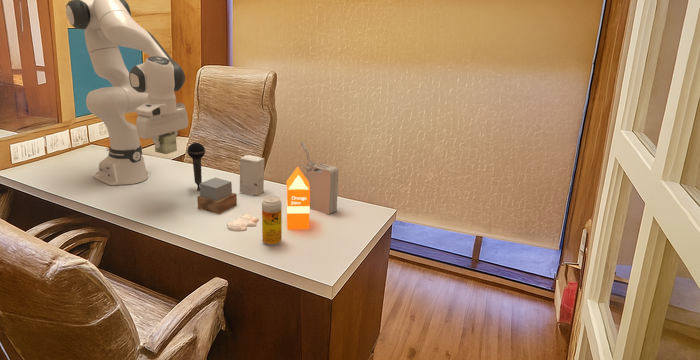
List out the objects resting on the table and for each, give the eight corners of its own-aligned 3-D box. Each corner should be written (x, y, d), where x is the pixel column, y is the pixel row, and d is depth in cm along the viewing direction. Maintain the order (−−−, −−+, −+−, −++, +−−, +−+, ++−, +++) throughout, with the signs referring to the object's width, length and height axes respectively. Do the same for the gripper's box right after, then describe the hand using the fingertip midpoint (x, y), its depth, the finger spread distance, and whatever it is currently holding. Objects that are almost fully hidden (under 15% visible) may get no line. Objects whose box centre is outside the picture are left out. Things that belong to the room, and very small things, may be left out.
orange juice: (308, 218, 172) (309, 166, 166) (309, 229, 164) (310, 174, 157) (286, 218, 171) (286, 166, 164) (286, 229, 163) (286, 174, 156)
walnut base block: (197, 209, 176) (197, 196, 174) (216, 200, 184) (215, 188, 183) (219, 215, 172) (218, 202, 170) (236, 205, 180) (236, 193, 179)
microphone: (202, 194, 188) (199, 146, 181) (186, 192, 189) (183, 144, 183) (210, 188, 195) (208, 141, 188) (195, 186, 196) (192, 139, 189)
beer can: (267, 248, 150) (267, 204, 145) (259, 240, 155) (258, 197, 149) (284, 243, 153) (284, 200, 148) (276, 236, 158) (275, 194, 153)
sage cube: (155, 151, 166) (153, 135, 163) (166, 148, 170) (164, 132, 168) (166, 154, 164) (164, 137, 162) (176, 150, 168) (175, 134, 166)
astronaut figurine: (264, 223, 168) (264, 215, 166) (238, 234, 158) (237, 226, 157) (247, 216, 172) (246, 208, 171) (220, 227, 163) (220, 219, 162)
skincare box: (239, 193, 192) (238, 158, 187) (246, 188, 197) (246, 154, 192) (258, 196, 189) (257, 161, 184) (265, 191, 195) (264, 156, 190)
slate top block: (200, 196, 175) (199, 183, 173) (215, 189, 181) (215, 177, 180) (216, 201, 171) (216, 188, 170) (231, 194, 178) (231, 181, 176)
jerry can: (297, 204, 184) (298, 142, 175) (306, 200, 188) (307, 139, 179) (328, 215, 176) (330, 150, 167) (336, 211, 180) (339, 147, 171)
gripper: (177, 100, 171) (180, 137, 176) (131, 109, 154) (135, 150, 159) (191, 102, 169) (193, 140, 174) (145, 112, 151) (149, 154, 156)
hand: (165, 145), depth 166 cm, fingers closed on sage cube, 5 cm apart
